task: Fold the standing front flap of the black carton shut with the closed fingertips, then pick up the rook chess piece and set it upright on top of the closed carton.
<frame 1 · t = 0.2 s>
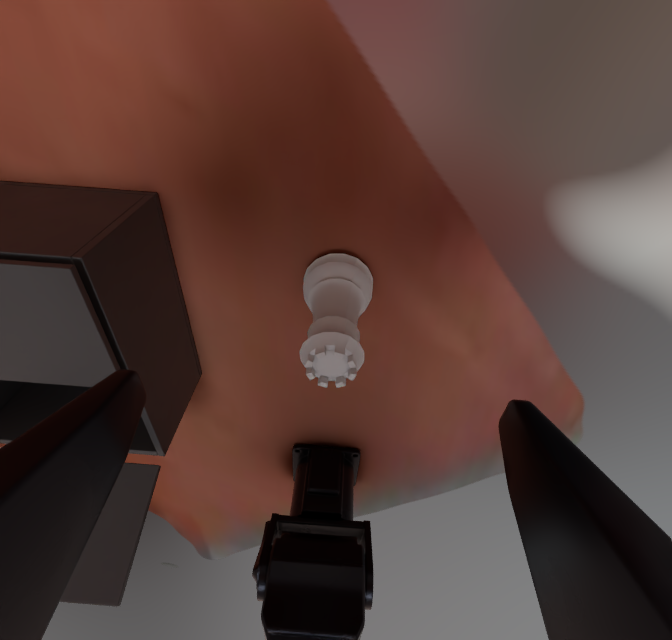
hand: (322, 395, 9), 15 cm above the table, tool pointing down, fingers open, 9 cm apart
rook chess piece: (338, 278, 24), on the table
carton: (91, 292, 26), on the table
flap: (35, 521, 23), point 12 cm above the table, hinge at 110.0°
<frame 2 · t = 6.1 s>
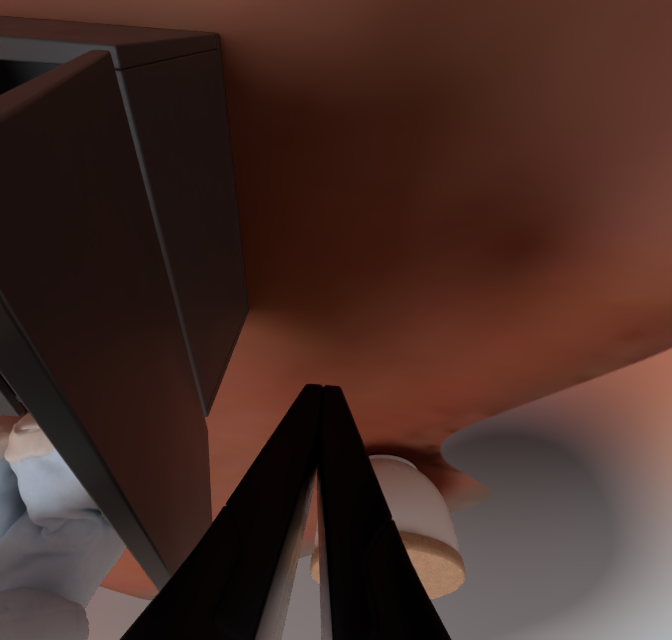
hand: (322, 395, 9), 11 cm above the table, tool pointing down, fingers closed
hippo plush: (107, 471, 35), on the table
carton: (80, 191, 18), on the table
flap: (164, 398, 9), point 12 cm above the table, hinge at 110.0°, touching gripper
trinket box: (381, 471, 32), on the table
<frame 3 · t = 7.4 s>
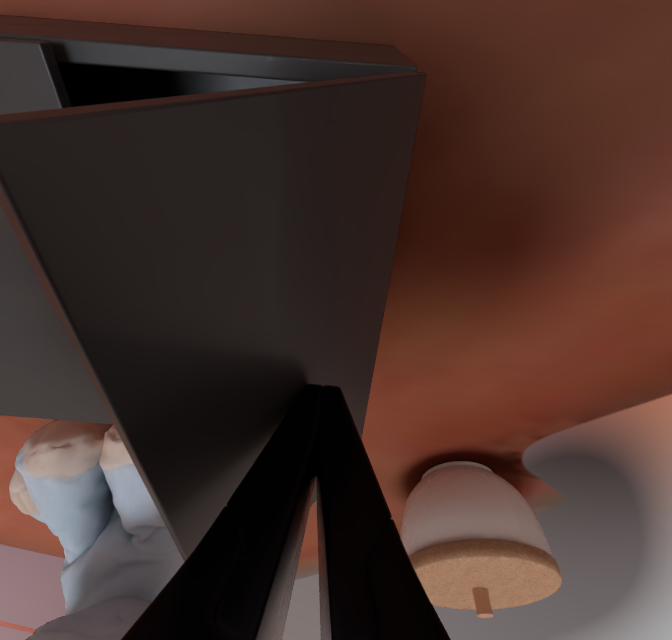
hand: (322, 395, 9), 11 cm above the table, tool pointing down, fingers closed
hippo plush: (176, 477, 35), on the table
carton: (215, 201, 18), on the table
flap: (298, 394, 9), point 11 cm above the table, hinge at 56.3°, touching gripper
trinket box: (456, 477, 32), on the table
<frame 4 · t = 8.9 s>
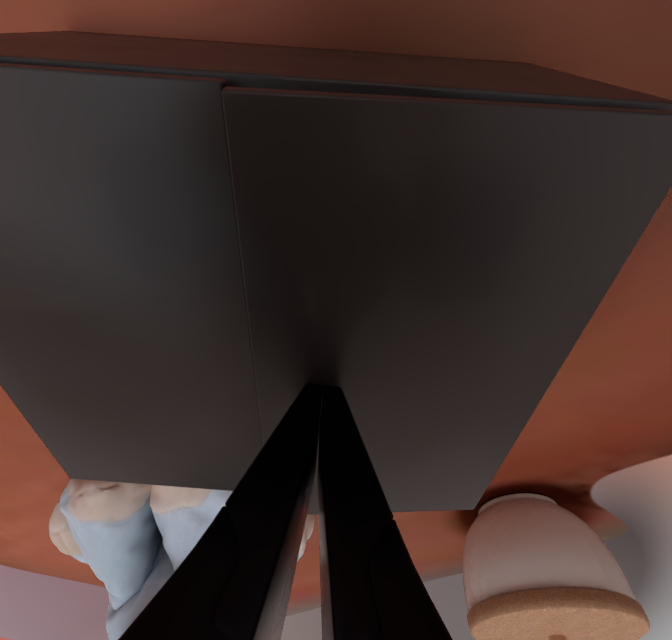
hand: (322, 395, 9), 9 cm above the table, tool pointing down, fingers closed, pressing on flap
hippo plush: (216, 508, 33), on the table
carton: (298, 232, 16), on the table
flap: (403, 390, 10), point 8 cm above the table, hinge at 5.8°, touching gripper
trinket box: (516, 509, 31), on the table
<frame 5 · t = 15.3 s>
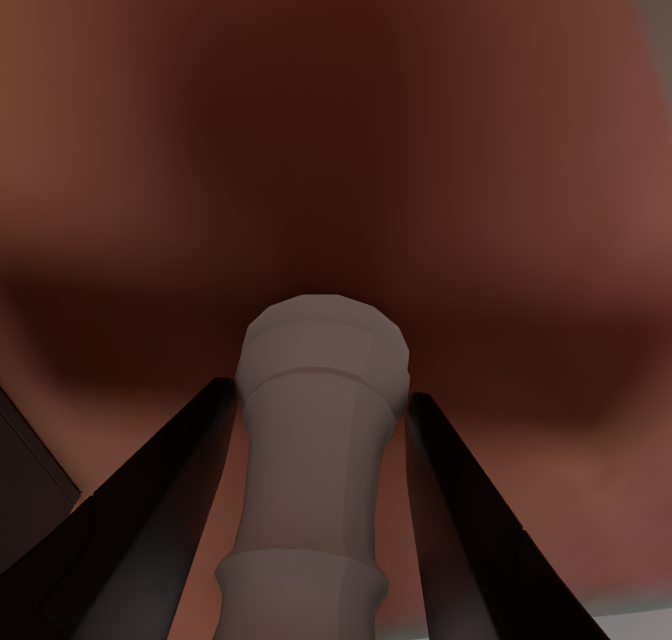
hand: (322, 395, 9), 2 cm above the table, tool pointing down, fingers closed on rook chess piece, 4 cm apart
rook chess piece: (326, 345, 11), on the table, touching gripper
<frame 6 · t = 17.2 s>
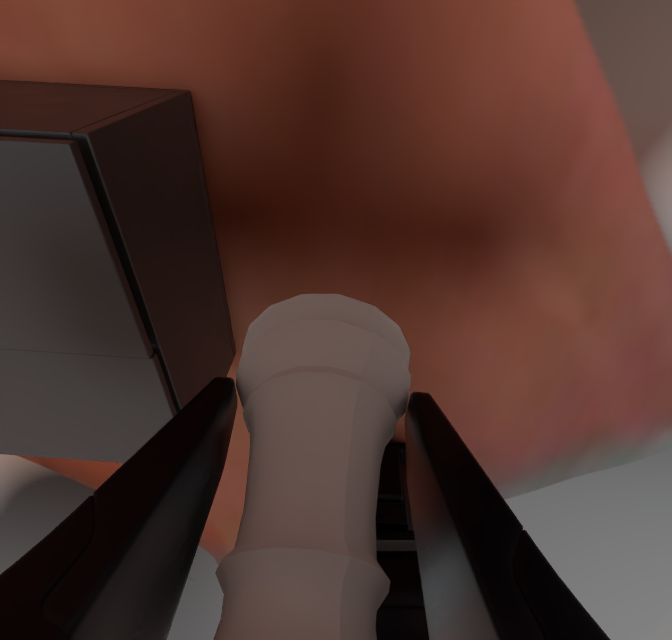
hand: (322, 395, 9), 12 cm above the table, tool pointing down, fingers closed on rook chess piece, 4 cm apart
rook chess piece: (327, 344, 11), point 10 cm above the table, touching gripper
carton: (99, 244, 20), on the table
flap: (30, 407, 16), point 8 cm above the table, hinge at -1.2°
when the fingers open (10 cm above the table, at t = 19.3 s): rook chess piece stays where it is, resting on carton.
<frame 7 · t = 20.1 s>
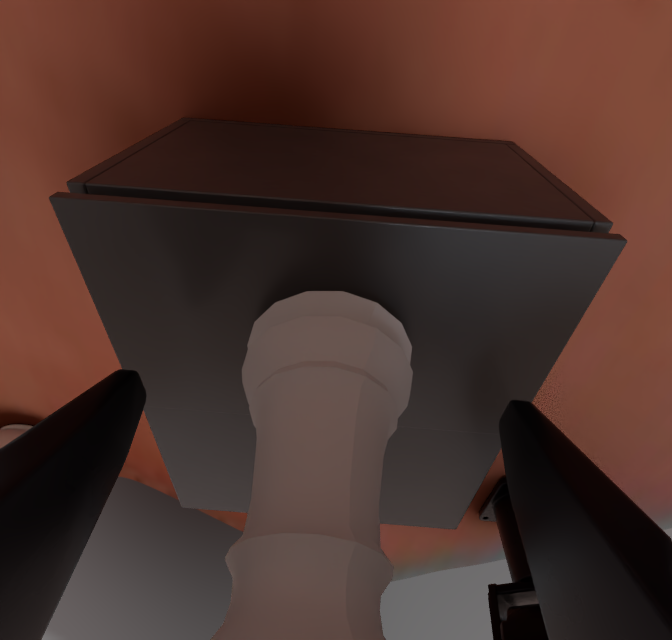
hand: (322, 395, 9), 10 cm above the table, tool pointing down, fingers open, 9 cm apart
rook chess piece: (330, 341, 11), point 8 cm above the table, touching carton
carton: (336, 288, 19), on the table
flap: (321, 472, 15), point 8 cm above the table, hinge at -1.2°
trinket box: (41, 444, 31), on the table
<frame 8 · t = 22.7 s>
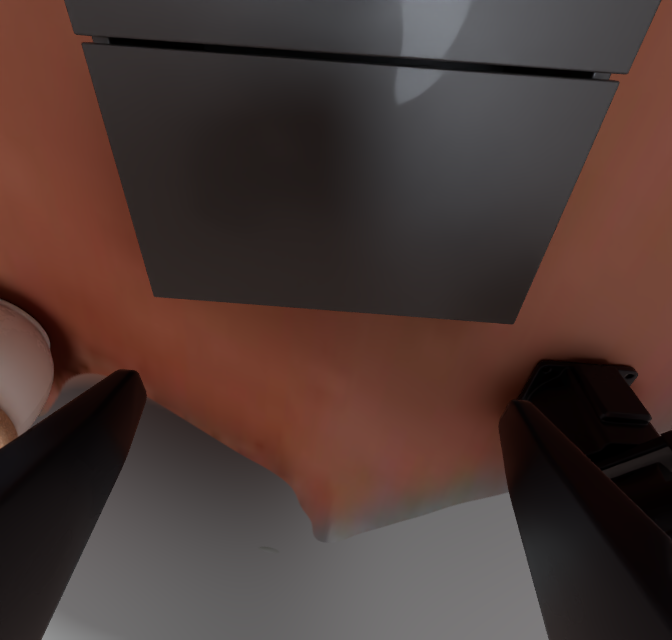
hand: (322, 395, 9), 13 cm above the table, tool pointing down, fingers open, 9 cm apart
carton: (354, 41, 15), on the table
flap: (339, 209, 11), point 8 cm above the table, hinge at -1.2°
trinket box: (5, 328, 26), on the table
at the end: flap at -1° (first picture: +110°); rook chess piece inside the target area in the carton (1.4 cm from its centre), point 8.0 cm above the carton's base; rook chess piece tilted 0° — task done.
